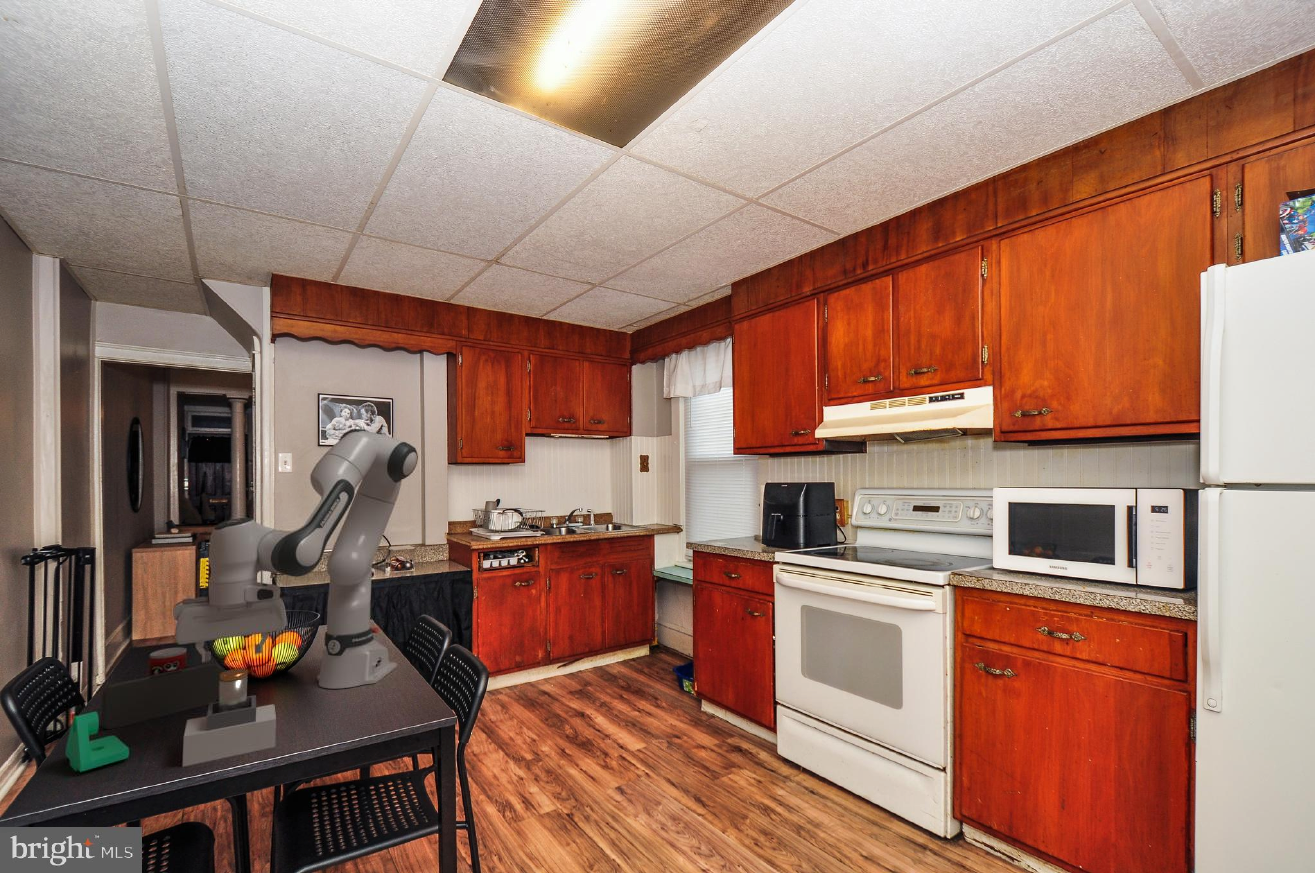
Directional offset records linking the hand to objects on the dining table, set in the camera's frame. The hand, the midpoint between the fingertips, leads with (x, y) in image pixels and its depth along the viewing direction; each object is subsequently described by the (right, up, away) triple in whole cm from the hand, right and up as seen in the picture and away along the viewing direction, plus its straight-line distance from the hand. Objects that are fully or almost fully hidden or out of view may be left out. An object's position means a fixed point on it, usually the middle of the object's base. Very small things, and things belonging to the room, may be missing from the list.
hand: (233, 657), depth 135 cm
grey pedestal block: (0, -19, -1) cm, 19 cm away
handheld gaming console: (-29, -20, +17) cm, 39 cm away
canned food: (-39, -21, +31) cm, 54 cm away
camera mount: (-23, -19, -7) cm, 31 cm away
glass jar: (0, -13, -1) cm, 13 cm away
